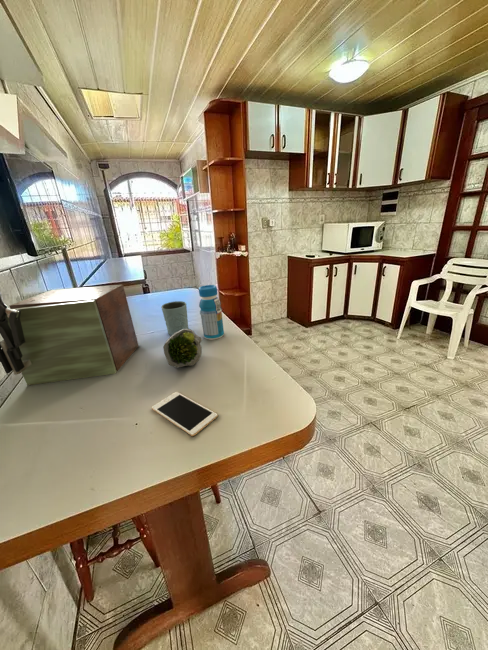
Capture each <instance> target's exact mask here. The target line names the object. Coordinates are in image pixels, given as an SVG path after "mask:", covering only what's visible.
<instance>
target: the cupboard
mask: <svg viewBox="0 0 488 650" xmlns="http://www.w3.org/2000/svg"><path fill="white" fill-rule="evenodd" d="M89 300H95V301H96V304H97V308H98V311H99V314H100V317H101V321H102V324H103V327H104V331H105V334H106V337H107V341H108V344H109V347H110V351H111V354H112V357H113V360H114V364H115V367H116V370H117V372H118V371H119V370H120V369H121V368H122V367H123V365H125V363H126V362H127V361H128V359H129V358H130V357H131V355H133V353H135V351H136V350H137V349H138V348H139V342H138V337H137V333H136V331H135V327H134V322H133V318H132V314H131V311H130V306H129V303H128V298H127V295H126V291H125V287H124V284H111V285H97V286H96V285H95V286H85V287H72V288H59V289H50V290H47V291H44V292H42V293H38V294H37V295H36V294H35V295H33V296H31V297H28V298H26V299H23V300H20V301H18V302H15V303H12V304H10V305H9V306H8V308H9V309H16V308H25V307H34V306H43V305H52V304H62V303H71V302H80V301H89Z"/></svg>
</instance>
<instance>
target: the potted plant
mask: <svg viewBox="0 0 488 650" xmlns="http://www.w3.org/2000/svg"><path fill="white" fill-rule="evenodd" d="M202 341H203V338H202V337H201V336H199V335H197V334H196V333H195V331H194V330H192V329H190V328H188V329H183V330H180V331H178V332H176V333H174V334H173V335H170V337H169V338H167V340H166V341H165V342H164V344H163V347H162V350H163V353H164V355H165V358H166V361H167V363H168V365H169V366H172V367H174V368H176V369H177V368H182V367H187V366H188V367H193V366H195V364H197V362H198V361H199V360H200V358H201V356H202V352H203V351H202V349H203V348H202V345H201V342H202Z"/></svg>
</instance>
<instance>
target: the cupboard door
mask: <svg viewBox="0 0 488 650" xmlns="http://www.w3.org/2000/svg"><path fill="white" fill-rule="evenodd" d="M16 309H19V310H20V311H21V314H20V321H21V325H22V329H23V334H24V338H25V343H23V344H22V345H21V346H19V348H20V351H21V353H22V355H23V356H22V358H21V360H22V362H23V364H24V366H25V367H24V368H23V369H22V370H20V371H19V372H16V371H15V369H14V367H13V364H12V362H11V360H10V358H9V356H8V354H7V352H6V351H7V349H9V348H8V346H7V345H6V343H5V341H4V339H2V340H0V345H1V347H2V348H1V349H3V351H4V353H5V355H6V358H7V360H8V362H9V364H10V366H11V368H12V372H13V375H15V376H17V375H19V374H20V375H21V374H22V376H23V379H24V381H25V384H26V385H27V386H33V385H40V384H47V383H48V384H49V383H56V382H63V381H71V380H78V379H85V378H86V379H87V378H94V377H101V376H109V375H116V374H117V372H118V371H117V370H116V367H115V364H114V360H113V357H112V354H111V351H110V347H109V344H108V341H107V337H106V334H105V331H104V327H103V324H102V321H101V317H100V314H99V311H98V308H97V304H96V301H95V300H89V301H80V302H71V303H62V304H52V305H43V306H34V307H25V308H16ZM16 309H13V310H16ZM7 316H8V315H7V314H6V319H7V320H8V325H9V327H10V323H9V318H8V317H7ZM10 329H11V327H10Z"/></svg>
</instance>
